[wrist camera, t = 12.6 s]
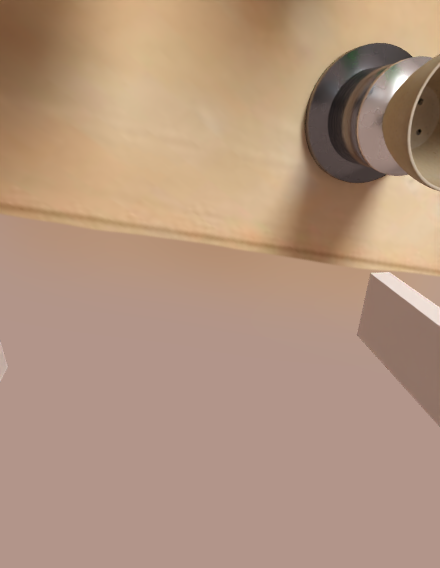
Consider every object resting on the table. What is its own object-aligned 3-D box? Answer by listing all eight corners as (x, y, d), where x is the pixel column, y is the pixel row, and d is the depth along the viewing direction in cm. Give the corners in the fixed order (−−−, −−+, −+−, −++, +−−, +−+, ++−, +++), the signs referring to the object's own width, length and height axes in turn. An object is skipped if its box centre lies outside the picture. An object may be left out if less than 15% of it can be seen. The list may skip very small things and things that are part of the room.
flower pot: (401, 199, 35) (457, 219, 28) (332, 129, 31) (379, 134, 25) (483, 108, 32) (565, 107, 26) (420, 19, 29) (497, -7, 22)
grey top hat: (280, 137, 38) (308, 143, 31) (362, 12, 34) (414, -12, 28) (365, 202, 43) (406, 220, 36) (445, 98, 39) (506, 96, 32)
